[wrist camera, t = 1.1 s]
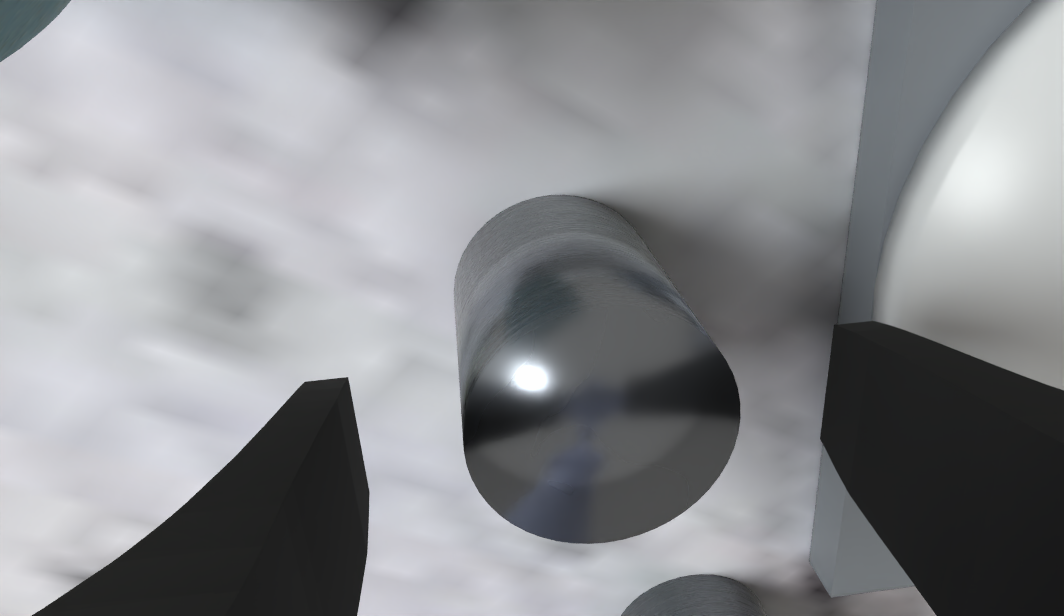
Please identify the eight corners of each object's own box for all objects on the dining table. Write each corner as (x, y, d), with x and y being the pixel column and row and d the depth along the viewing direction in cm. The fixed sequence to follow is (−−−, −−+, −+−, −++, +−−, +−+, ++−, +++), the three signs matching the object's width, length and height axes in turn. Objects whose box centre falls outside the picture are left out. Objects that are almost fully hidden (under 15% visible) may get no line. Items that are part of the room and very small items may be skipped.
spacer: (652, 368, 17) (733, 525, 12) (463, 389, 16) (477, 558, 12) (653, 185, 15) (748, 292, 11) (443, 205, 15) (448, 323, 10)
